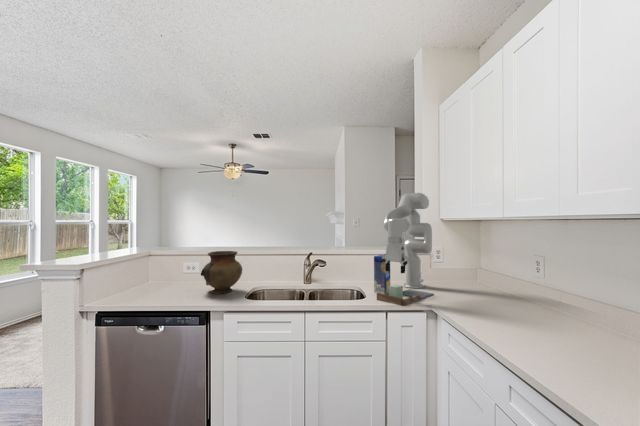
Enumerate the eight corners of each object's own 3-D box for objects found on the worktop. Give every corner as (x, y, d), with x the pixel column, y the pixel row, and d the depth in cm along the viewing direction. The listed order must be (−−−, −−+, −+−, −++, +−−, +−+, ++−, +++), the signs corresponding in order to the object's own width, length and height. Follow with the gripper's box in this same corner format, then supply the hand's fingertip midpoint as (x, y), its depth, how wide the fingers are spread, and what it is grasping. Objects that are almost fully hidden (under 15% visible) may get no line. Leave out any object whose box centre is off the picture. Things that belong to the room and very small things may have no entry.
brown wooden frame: (396, 294, 181) (396, 288, 182) (420, 299, 170) (420, 292, 170) (376, 299, 169) (376, 293, 169) (401, 305, 157) (401, 298, 157)
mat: (409, 290, 191) (409, 289, 191) (433, 294, 179) (433, 293, 179) (396, 294, 182) (396, 292, 182) (421, 299, 170) (421, 297, 170)
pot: (204, 299, 173) (203, 255, 173) (197, 291, 193) (196, 252, 193) (247, 292, 185) (246, 252, 186) (237, 286, 206) (236, 249, 206)
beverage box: (390, 290, 193) (390, 255, 193) (385, 293, 183) (384, 257, 184) (380, 288, 196) (379, 254, 197) (374, 292, 187) (373, 256, 187)
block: (395, 298, 171) (394, 284, 171) (402, 300, 167) (402, 285, 168) (388, 300, 167) (388, 286, 167) (396, 302, 163) (396, 287, 164)
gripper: (412, 241, 164) (412, 273, 163) (386, 240, 177) (386, 269, 176) (405, 241, 159) (405, 274, 158) (378, 240, 172) (378, 271, 171)
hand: (395, 272), depth 167 cm, fingers open, 9 cm apart
